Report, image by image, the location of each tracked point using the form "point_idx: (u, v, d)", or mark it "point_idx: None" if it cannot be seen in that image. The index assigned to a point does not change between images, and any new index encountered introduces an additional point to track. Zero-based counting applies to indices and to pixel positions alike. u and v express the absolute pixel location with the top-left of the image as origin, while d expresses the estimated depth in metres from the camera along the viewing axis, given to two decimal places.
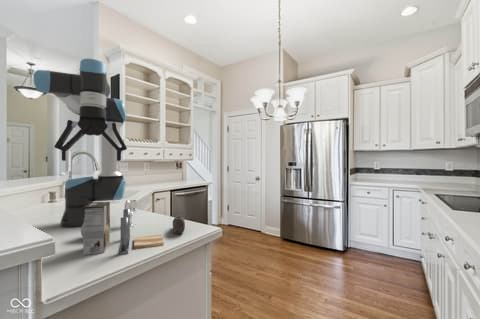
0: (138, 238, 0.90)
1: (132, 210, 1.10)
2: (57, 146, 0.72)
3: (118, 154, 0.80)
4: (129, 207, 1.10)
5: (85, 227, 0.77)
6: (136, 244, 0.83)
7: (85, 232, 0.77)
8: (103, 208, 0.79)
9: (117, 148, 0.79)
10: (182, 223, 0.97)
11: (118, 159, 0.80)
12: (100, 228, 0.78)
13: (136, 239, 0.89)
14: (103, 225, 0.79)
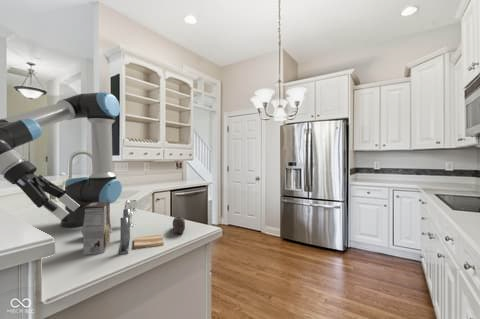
0: (138, 238, 0.90)
1: (132, 210, 1.10)
2: None
3: None
4: (129, 207, 1.10)
5: (85, 227, 0.77)
6: (136, 244, 0.83)
7: (85, 232, 0.77)
8: (103, 208, 0.79)
9: None
10: (182, 223, 0.97)
11: None
12: (100, 228, 0.78)
13: (136, 239, 0.89)
14: (103, 225, 0.79)
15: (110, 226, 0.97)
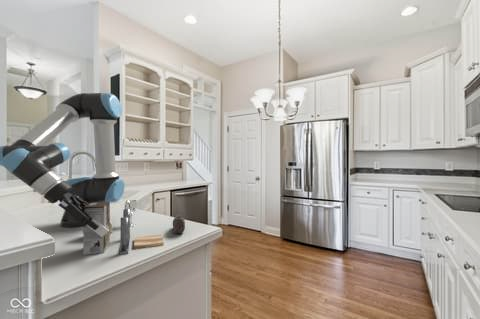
0: (138, 238, 0.90)
1: (132, 210, 1.10)
2: None
3: (90, 225, 0.76)
4: (129, 207, 1.10)
5: (85, 227, 0.77)
6: (136, 244, 0.83)
7: (85, 232, 0.77)
8: (103, 208, 0.79)
9: None
10: (182, 223, 0.97)
11: (94, 229, 0.77)
12: None
13: (136, 239, 0.89)
14: (103, 225, 0.79)
15: (111, 226, 0.97)
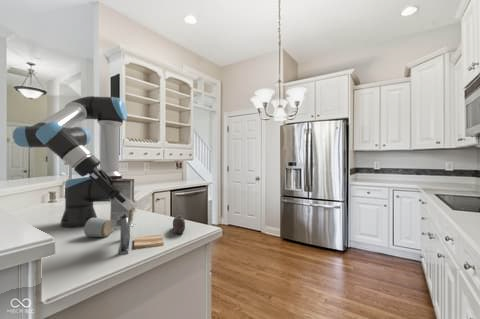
0: (138, 238, 0.90)
1: None
2: None
3: (117, 198, 0.78)
4: None
5: (112, 200, 0.79)
6: (136, 244, 0.83)
7: (112, 205, 0.79)
8: (130, 183, 0.81)
9: None
10: (182, 223, 0.97)
11: None
12: None
13: (136, 239, 0.89)
14: (129, 199, 0.81)
15: None
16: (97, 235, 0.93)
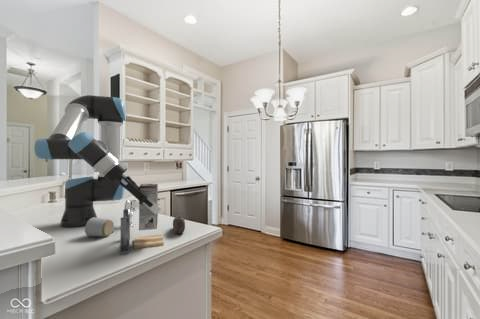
0: (138, 238, 0.90)
1: (132, 210, 1.10)
2: None
3: None
4: (129, 207, 1.10)
5: (140, 205, 0.84)
6: (136, 244, 0.83)
7: (140, 209, 0.84)
8: (156, 188, 0.85)
9: None
10: (182, 223, 0.97)
11: (149, 206, 0.83)
12: None
13: (136, 239, 0.89)
14: (156, 203, 0.85)
15: (112, 225, 0.98)
16: (98, 235, 0.93)
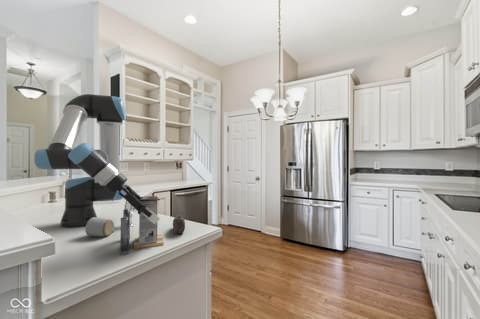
0: (138, 238, 0.90)
1: (132, 210, 1.10)
2: None
3: (144, 213, 0.82)
4: (129, 207, 1.10)
5: (141, 218, 0.84)
6: (136, 244, 0.83)
7: (141, 223, 0.84)
8: (156, 201, 0.86)
9: None
10: (182, 223, 0.97)
11: (148, 216, 0.82)
12: None
13: (136, 239, 0.89)
14: None
15: (113, 225, 0.99)
16: (98, 234, 0.94)
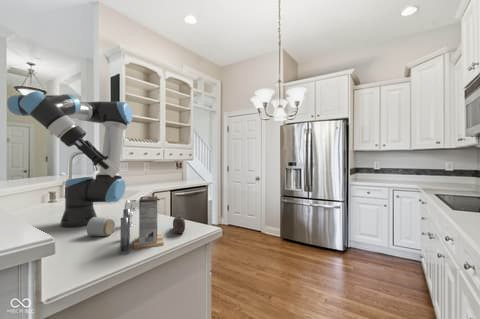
0: (138, 238, 0.90)
1: (132, 210, 1.10)
2: None
3: (100, 165, 0.79)
4: (129, 207, 1.10)
5: (140, 219, 0.84)
6: (136, 244, 0.83)
7: (140, 223, 0.84)
8: (156, 201, 0.86)
9: None
10: (182, 223, 0.97)
11: (105, 168, 0.80)
12: (154, 219, 0.85)
13: (136, 239, 0.89)
14: (156, 217, 0.86)
15: (114, 224, 0.99)
16: (99, 234, 0.94)
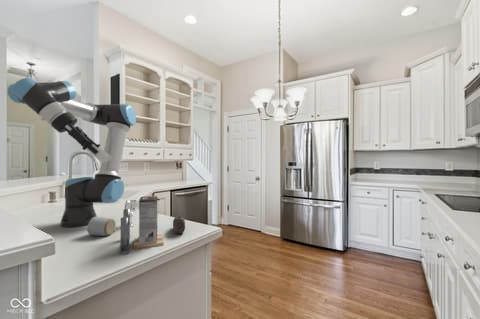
0: (138, 238, 0.90)
1: (132, 210, 1.10)
2: None
3: (90, 149, 0.80)
4: (129, 207, 1.10)
5: (140, 219, 0.84)
6: (136, 244, 0.83)
7: (140, 223, 0.84)
8: (156, 201, 0.86)
9: None
10: (182, 223, 0.97)
11: (94, 153, 0.80)
12: (154, 219, 0.85)
13: (136, 239, 0.89)
14: (156, 217, 0.86)
15: (114, 224, 1.00)
16: (100, 234, 0.95)
